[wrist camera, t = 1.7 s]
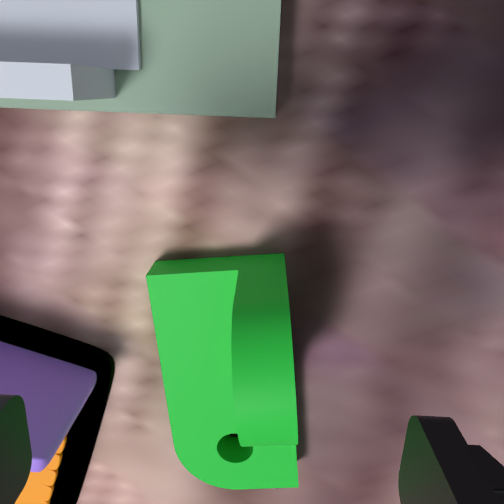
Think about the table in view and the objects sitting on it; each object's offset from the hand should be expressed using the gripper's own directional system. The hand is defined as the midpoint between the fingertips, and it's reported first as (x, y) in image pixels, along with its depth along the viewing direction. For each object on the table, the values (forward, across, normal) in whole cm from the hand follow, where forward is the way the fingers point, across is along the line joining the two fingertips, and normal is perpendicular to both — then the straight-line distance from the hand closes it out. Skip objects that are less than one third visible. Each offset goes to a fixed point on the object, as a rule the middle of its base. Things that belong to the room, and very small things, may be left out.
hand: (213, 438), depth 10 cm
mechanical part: (+13, 0, +6) cm, 14 cm away
